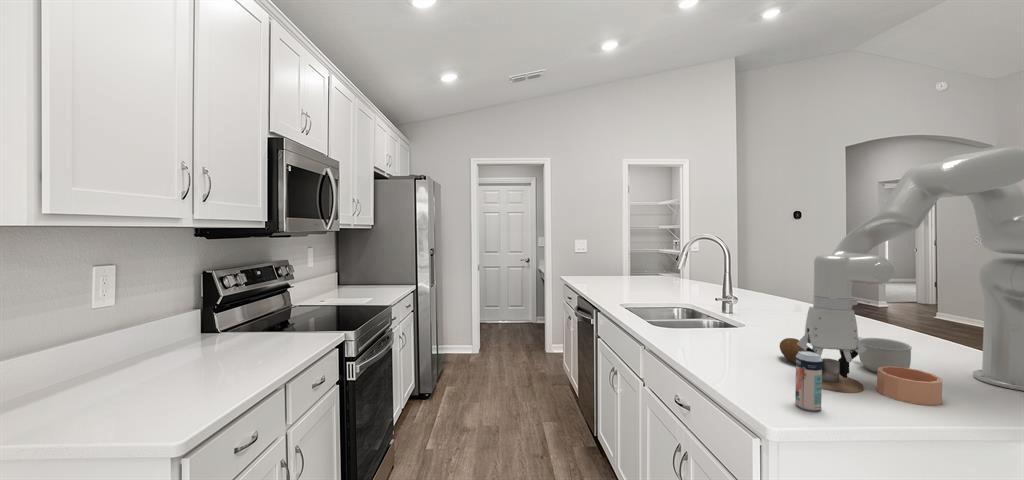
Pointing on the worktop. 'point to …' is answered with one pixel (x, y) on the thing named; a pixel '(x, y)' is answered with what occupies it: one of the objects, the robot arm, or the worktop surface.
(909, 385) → the bowl
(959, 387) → the worktop surface
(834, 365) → the lid
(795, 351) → the potato
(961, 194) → the robot arm
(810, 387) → the beer can
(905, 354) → the teacup
